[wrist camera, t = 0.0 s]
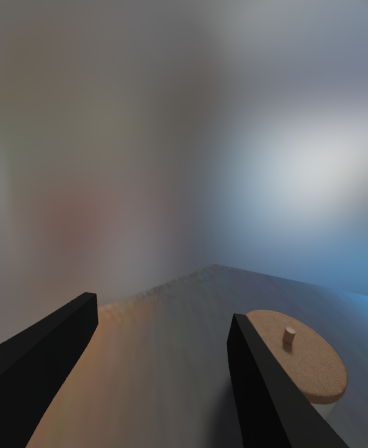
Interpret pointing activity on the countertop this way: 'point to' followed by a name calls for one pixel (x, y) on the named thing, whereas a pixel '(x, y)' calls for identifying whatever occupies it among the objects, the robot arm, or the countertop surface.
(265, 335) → the white round tub
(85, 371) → the countertop surface
